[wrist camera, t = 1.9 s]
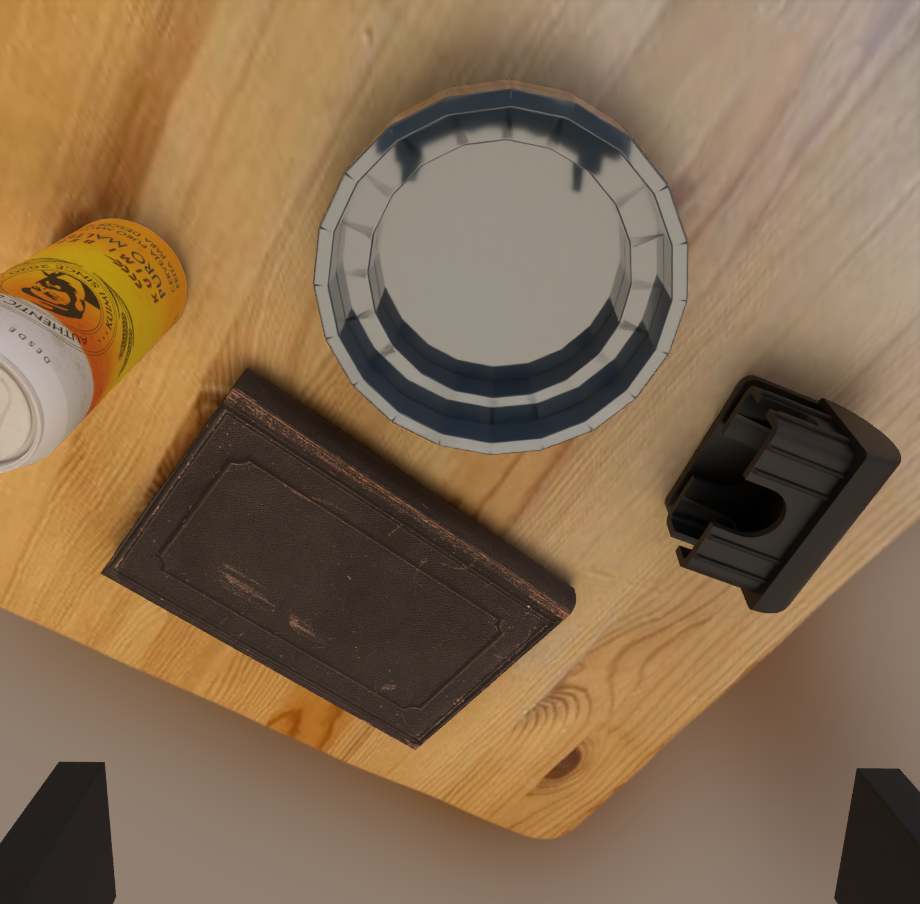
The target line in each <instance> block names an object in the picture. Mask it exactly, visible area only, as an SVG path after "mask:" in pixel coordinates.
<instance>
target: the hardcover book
mask: <svg viewBox="0 0 920 904" xmlns="http://www.w3.org/2000/svg"><path fill="white" fill-rule="evenodd" d="M101 574H103V575H105V576H106V577H108V578H110V579H112V580H113V581H115V582H117V583H119V584H121V585H122V586H124V587H126V588H128V589H129V590H131V591H133V592H135V593H137V594H138V595H140V596H142V597H144V598H146V599H147V600H149V601H151V602H153V603H154V604H156V605H158V606H160V607H162V608H163V609H165V610H167V611H169V612H170V613H172V614H174V615H176V616H178V617H179V618H181V619H183V620H185V621H186V622H188V623H190V624H192V625H194V626H195V627H197V628H199V629H201V630H202V631H204V632H206V633H208V634H210V635H211V636H213V637H215V638H217V639H218V640H220V641H222V642H224V643H226V644H227V645H229V646H231V647H233V648H235V649H236V650H238V651H240V652H242V653H243V654H245V655H247V656H249V657H251V658H252V659H254V660H256V661H258V662H259V663H261V664H263V665H265V666H267V667H268V668H270V669H272V670H274V671H275V672H277V673H279V674H281V675H283V676H284V677H286V678H288V679H290V680H291V681H293V682H295V683H297V684H299V685H300V686H302V687H304V688H306V689H308V690H309V691H311V692H313V693H315V694H316V695H318V696H320V697H322V698H324V699H325V700H327V701H329V702H331V703H332V704H334V705H336V706H338V707H340V708H341V709H343V710H345V711H347V712H348V713H350V714H352V715H354V716H356V717H357V718H359V719H361V720H363V721H364V722H366V723H368V724H370V725H372V726H373V727H375V728H377V729H379V730H380V731H382V732H384V733H386V734H388V735H389V736H391V737H393V738H395V739H397V740H398V741H400V742H402V743H404V744H405V745H407V746H409V747H411V748H413V749H414V750H416V749H417V748H418V747H420V746H421V745H422V744H423V743H424V742H425V741H426V740H427V739H429V738H430V737H431V736H432V735H433V734H434V733H435V732H437V731H438V730H439V729H440V728H441V727H442V726H443V725H445V724H446V723H447V722H448V721H449V720H450V719H451V718H453V717H454V716H455V715H456V714H457V713H458V712H459V711H461V710H462V709H463V708H464V707H465V706H466V705H467V704H468V703H470V702H471V701H472V700H473V699H474V698H475V697H476V696H478V695H479V694H480V693H481V692H482V691H483V690H484V689H486V688H487V687H488V686H489V685H490V684H491V683H492V682H494V681H495V680H496V679H497V678H498V677H499V676H500V675H502V674H503V673H504V672H505V671H506V670H507V669H508V668H509V667H511V666H512V665H513V664H514V663H515V662H516V661H517V660H519V659H520V658H521V657H522V656H523V655H524V654H525V653H527V652H528V651H529V650H530V649H531V648H532V647H533V646H535V645H536V644H537V643H538V642H539V641H540V640H541V639H543V638H544V637H545V636H546V635H547V634H548V633H549V632H550V631H552V630H553V629H554V628H555V627H556V626H557V625H558V624H560V623H561V622H562V621H563V620H564V619H565V618H566V617H568V616H569V615H570V614H571V612H572V611H573V609H574V607H575V604H576V594H575V590H574V588H573V587H571V586H570V585H568V584H567V583H565V582H564V581H562V580H561V579H559V578H558V577H556V576H555V575H554V574H552V573H551V572H549V571H548V570H546V569H545V568H543V567H542V566H540V565H539V564H537V563H536V562H534V561H533V560H531V559H530V558H528V557H527V556H525V555H524V554H523V553H521V552H520V551H518V550H517V549H515V548H514V547H512V546H511V545H509V544H508V543H506V542H505V541H503V540H502V539H500V538H499V537H497V536H496V535H494V534H493V533H491V532H490V531H489V530H487V529H486V528H484V527H483V526H481V525H480V524H478V523H477V522H475V521H474V520H472V519H471V518H469V517H468V516H466V515H465V514H463V513H462V512H460V511H459V510H457V509H456V508H455V507H453V506H452V505H450V504H449V503H447V502H446V501H444V500H443V499H441V498H440V497H438V496H437V495H435V494H434V493H432V492H431V491H429V490H428V489H426V488H425V487H423V486H422V485H421V484H419V483H418V482H416V481H415V480H413V479H412V478H410V477H409V476H407V475H406V474H404V473H403V472H401V471H400V470H398V469H397V468H395V467H394V466H392V465H391V464H390V463H388V462H387V461H385V460H384V459H382V458H381V457H379V456H378V455H376V454H375V453H373V452H372V451H370V450H369V449H367V448H366V447H364V446H363V445H361V444H360V443H358V442H357V441H356V440H354V439H353V438H351V437H350V436H348V435H347V434H345V433H344V432H342V431H341V430H339V429H338V428H336V427H335V426H333V425H332V424H330V423H329V422H327V421H326V420H324V419H323V418H322V417H320V416H319V415H317V414H316V413H314V412H313V411H311V410H310V409H308V408H307V407H305V406H304V405H302V404H301V403H299V402H298V401H296V400H295V399H293V398H292V397H290V396H289V395H288V394H286V393H285V392H283V391H282V390H280V389H279V388H277V387H276V386H274V385H273V384H271V383H270V382H268V381H267V380H265V379H264V378H262V377H261V376H259V375H258V374H256V373H255V372H254V371H252V370H251V369H249V368H246V370H245V371H244V372H243V374H242V375H241V376H240V378H239V379H238V381H237V382H236V383H235V385H234V386H233V388H232V389H231V390H230V392H229V393H228V395H227V396H226V397H225V399H224V400H223V402H222V403H221V404H220V406H219V407H218V409H217V410H216V411H215V413H214V414H213V416H212V417H211V418H210V420H209V421H208V423H207V424H206V425H205V427H204V428H203V430H202V431H201V432H200V434H199V435H198V437H197V438H196V439H195V441H194V442H193V444H192V445H191V446H190V448H189V449H188V451H187V452H186V453H185V455H184V456H183V458H182V459H181V460H180V462H179V463H178V465H177V466H176V467H175V469H174V470H173V472H172V473H171V474H170V476H169V477H168V479H167V480H166V481H165V483H164V484H163V486H162V487H161V488H160V490H159V491H158V493H157V494H156V495H155V497H154V498H153V500H152V501H151V502H150V504H149V505H148V507H147V508H146V509H145V511H144V512H143V514H142V515H141V516H140V518H139V519H138V521H137V522H136V523H135V525H134V526H133V528H132V529H131V530H130V532H129V533H128V535H127V536H126V537H125V539H124V540H123V542H122V543H121V544H120V546H119V547H118V549H117V550H116V551H115V553H114V555H113V557H112V558H111V559H110V561H109V562H108V564H107V565H106V566H105V568H104V569H103V571H102V572H101Z"/></svg>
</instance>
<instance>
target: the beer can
mask: <svg viewBox="0 0 920 904" xmlns="http://www.w3.org/2000/svg"><path fill="white" fill-rule="evenodd" d="M186 300H187V283H186V277H185V274H184V271H183V268H182V265H181V263H180V261H179V259H178V258H177V256H176V255H175V253H174V252H173V250H172V249H171V248H170V247H169V245H168V244H167V243H166V242H165V241H164V240H163V239H161V238H160V237H159V236H158V235H157V234H155V233H154V232H152V231H151V230H149V229H148V228H146V227H144V226H142V225H140V224H137V223H134V222H131V221H128V220H123V219H102V220H97V221H94V222H91V223H89V224H87V225H85V226H84V227H82V228H80V229H78V230H77V231H75V232H73V233H71V234H70V235H68V236H66V237H64V238H63V239H61V240H59V241H58V242H56V243H54V244H52V245H51V246H49V247H47V248H45V249H44V250H42V251H40V252H38V253H37V254H35V255H33V256H32V257H30V258H28V259H26V260H25V261H23V262H21V263H19V264H18V265H16V266H14V267H13V268H11V269H9V270H7V271H6V272H4V273H2V274H0V473H4V472H8V471H10V470H13V469H15V468H18V467H23V466H28V465H31V464H33V463H36V462H38V461H40V460H42V459H44V458H45V457H46V456H48V455H49V454H50V453H51V452H52V451H53V450H54V449H55V448H56V447H57V446H58V445H59V444H60V443H61V442H62V441H63V440H64V439H65V438H66V437H67V436H68V435H69V434H70V433H71V432H72V431H73V430H74V429H75V428H76V427H77V425H78V424H79V423H80V422H81V421H82V420H83V419H84V418H85V417H86V416H87V415H88V414H89V413H90V412H91V411H92V410H93V409H94V408H95V407H96V406H97V405H98V404H99V402H100V401H101V400H102V399H103V398H104V397H105V396H106V395H107V394H108V393H109V392H110V391H111V390H112V389H113V388H114V387H115V386H116V385H117V384H118V383H119V382H120V381H121V380H122V378H123V377H124V376H125V375H126V374H127V373H128V372H129V371H130V370H131V369H132V368H133V367H134V366H135V365H136V364H137V363H138V362H139V361H140V360H141V359H142V358H143V357H144V355H145V354H146V353H147V352H148V351H149V350H150V349H151V348H152V347H153V346H154V345H155V344H156V343H157V342H158V341H159V340H160V339H161V338H162V337H163V336H164V335H165V334H166V333H167V331H168V330H169V329H170V328H171V327H172V326H173V325H174V324H175V323H176V322H177V321H178V319H179V318H180V316H181V315H182V313H183V310H184V308H185V304H186Z"/></svg>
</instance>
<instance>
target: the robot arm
mask: <svg viewBox="0 0 920 904" xmlns="http://www.w3.org/2000/svg"><path fill="white" fill-rule="evenodd" d="M115 898H116V891H115V878H114V866H113V855H112V843H111V831H110V819H109V807H108V796H107V784H106V772H105V762H59V763H58V764H57V765H56V767H55V768H54V770H53V771H52V772H51V774H50V775H49V777H48V778H47V779H46V781H45V782H44V783H43V785H42V786H41V788H40V789H39V791H38V792H37V793H36V795H35V796H34V797H33V799H32V800H31V801H30V803H29V804H28V806H27V807H26V808H25V810H24V811H23V812H22V814H21V815H20V817H19V818H18V819H17V821H16V822H15V824H14V825H13V826H12V828H11V829H10V831H9V832H8V833H7V835H6V836H5V837H4V839H3V840H2V842H1V843H0V904H113V902H114V900H115ZM834 898H835V900H836V902H837V903H838V904H920V792H919V790H918V789H917V788H915V786H914V785H913V784H912V783H911V781H910V780H909V779H908V778H907V777H906V776H905V775H904V774H903V773H902V771H901V770H900V769H877V768H875V769H874V768H871V769H870V768H869V769H868V768H867V769H866V768H857V771H856V776H855V783H854V788H853V794H852V799H851V805H850V811H849V816H848V822H847V828H846V834H845V840H844V845H843V851H842V857H841V862H840V868H839V874H838V880H837V886H836V891H835V897H834Z"/></svg>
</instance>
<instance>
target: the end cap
mask: <svg viewBox="0 0 920 904" xmlns="http://www.w3.org/2000/svg"><path fill="white" fill-rule="evenodd" d="M900 463H901V454H900V452H899V450H898V449H897V447H896V446H895V445H894V443H893V442H892V441H891V440H890V439H889V438H888V437H886V436H885V435H884V434H883V433H882V432H881V431H879V430H878V429H877V428H875V427H874V426H873V425H871V424H870V423H868V422H867V421H865V420H864V419H862V418H861V417H859V416H858V415H856V414H854V413H853V412H851V411H849V410H847V409H845V408H844V407H842V406H840V405H838V404H836V403H834V402H831V401H829V400H827V399H824V398H821V399H820V400H819V401H818V402H817V401H815V400H813V399H811V398H809V397H806V396H804V395H801V394H799V393H796V392H794V391H791V390H789V389H787V388H784V387H782V386H779V385H777V384H774V383H772V382H769V381H767V380H764V379H762V378H759V377H757V376H751V375H750V376H747V377H744V378H743V379H742V380H741V381H740V382H739V384H738V386H737V387H736V389H735V390H734V392H733V394H732V395H731V397H730V398H729V400H728V401H727V403H726V405H725V406H724V408H723V409H722V411H721V413H720V414H719V416H718V417H717V419H716V421H715V422H714V424H713V425H712V427H711V428H710V430H709V432H708V433H707V435H706V436H705V438H704V440H703V441H702V443H701V444H700V446H699V448H698V449H697V451H696V452H695V454H694V455H693V457H692V459H691V460H690V462H689V463H688V465H687V467H686V468H685V470H684V471H683V473H682V475H681V476H680V478H679V479H678V481H677V482H676V484H675V486H674V487H673V489H672V490H671V492H670V494H669V495H668V497H667V498H666V501H665V505H666V508H667V511H668V513H669V514H668V517H667V526H668V529H669V532H670V535H671V537H673V538H676V539H679V540H681V541H684V542H687V543H690V544H692V545H695V546H694V547H693V549H692V550H691V549H688V548H685V547H682V546H680V545H679V547H678V548H677V550H676V554H677V557H678V561H679V564H680V566H681V567H683V568H686V569H689V570H692V571H695V572H697V573H700V574H703V575H706V576H709V577H712V578H714V579H717V580H720V581H723V582H726V583H728V584H731V585H734V586H737V587H740V588H741V590H742V593H743V595H744V598H745V600H746V603H747V605H748V607H749V609H751V610H754V611H758V612H763V613H778V612H781V611H783V610H785V609H786V608H787V607H788V606H789V605H790V603H791V602H792V601H793V600H794V598H795V597H796V596H797V594H798V593H799V592H800V591H801V589H802V588H803V587H804V586H805V584H806V583H807V582H808V580H809V579H810V578H811V577H812V575H813V574H814V573H815V571H816V570H817V569H818V568H819V566H820V565H821V564H822V563H823V561H824V560H825V559H826V557H827V556H828V555H829V554H830V552H831V551H832V550H833V549H834V547H835V546H836V545H837V543H838V542H839V541H840V540H841V538H842V537H843V536H844V534H845V533H846V532H847V531H848V529H849V528H850V527H851V526H852V524H853V523H854V522H855V520H856V519H857V518H858V517H859V515H860V514H861V513H862V512H863V510H864V509H865V508H866V506H867V505H868V504H869V503H870V501H871V500H872V499H873V497H874V496H875V495H876V494H877V492H878V491H879V490H880V489H881V487H882V486H883V485H884V483H885V482H886V481H887V480H888V478H889V477H890V476H891V475H892V473H893V472H894V471H895V469H896V468H897V467H898V466H899V464H900Z"/></svg>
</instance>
